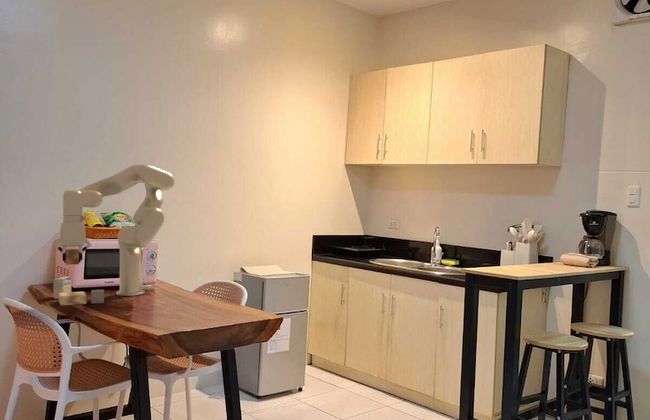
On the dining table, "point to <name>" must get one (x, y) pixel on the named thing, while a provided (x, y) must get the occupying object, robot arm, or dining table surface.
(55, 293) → the medicine box
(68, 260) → the walnut block
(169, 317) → the dining table surface
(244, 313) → the dining table surface
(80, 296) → the birch block
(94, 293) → the slate block
